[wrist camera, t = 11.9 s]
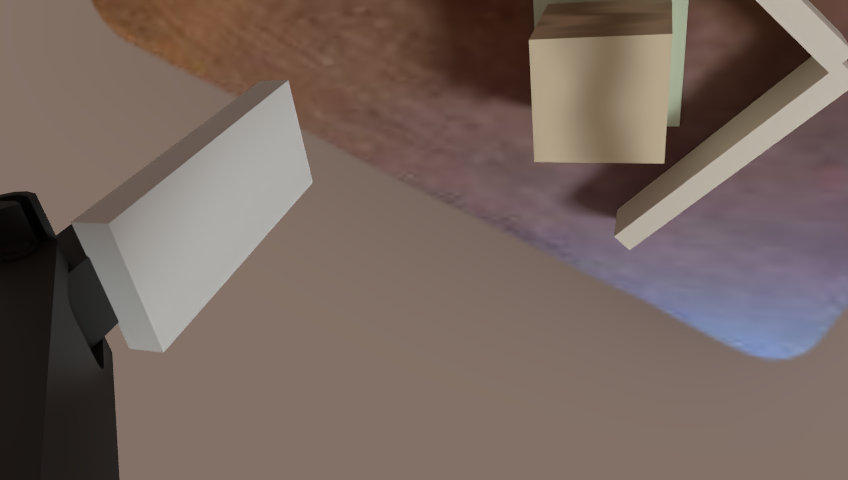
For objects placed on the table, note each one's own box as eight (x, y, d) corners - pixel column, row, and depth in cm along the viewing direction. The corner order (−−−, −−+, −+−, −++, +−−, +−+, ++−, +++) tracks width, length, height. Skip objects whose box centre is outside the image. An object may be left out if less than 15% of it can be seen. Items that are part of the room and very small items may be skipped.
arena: (461, 72, 52) (448, 91, 48) (656, -153, 41) (655, -147, 37) (631, 222, 54) (629, 250, 51) (858, 50, 43) (872, 71, 40)
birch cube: (551, 113, 51) (534, 161, 45) (547, 4, 47) (528, 39, 41) (664, 113, 49) (664, 163, 42) (672, -4, 44) (672, 33, 38)
